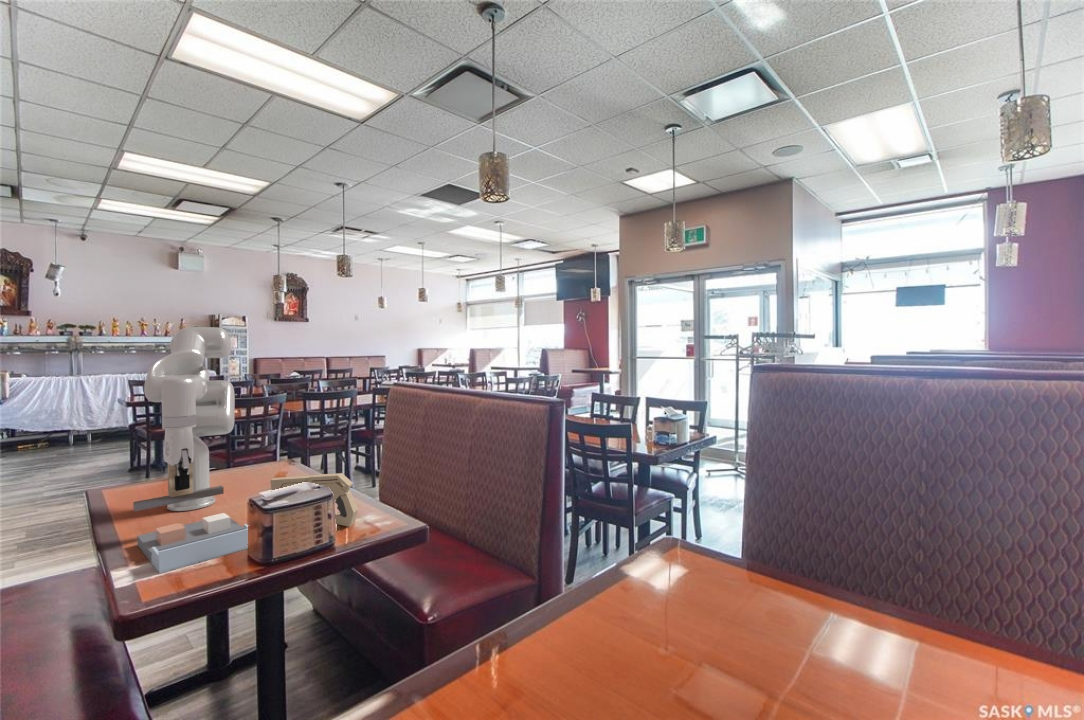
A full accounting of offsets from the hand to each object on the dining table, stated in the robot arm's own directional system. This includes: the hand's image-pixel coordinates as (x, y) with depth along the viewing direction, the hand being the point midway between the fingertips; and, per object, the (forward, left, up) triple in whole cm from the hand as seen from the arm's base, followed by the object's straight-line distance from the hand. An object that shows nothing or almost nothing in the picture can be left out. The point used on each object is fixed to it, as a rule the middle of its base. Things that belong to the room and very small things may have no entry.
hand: (180, 487), depth 134 cm
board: (+10, 0, -12) cm, 16 cm away
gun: (+21, +27, -13) cm, 37 cm away
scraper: (0, 0, -4) cm, 4 cm away
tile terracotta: (+12, -5, -10) cm, 17 cm away
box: (+22, 0, -12) cm, 26 cm away
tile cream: (+12, +5, -10) cm, 17 cm away
